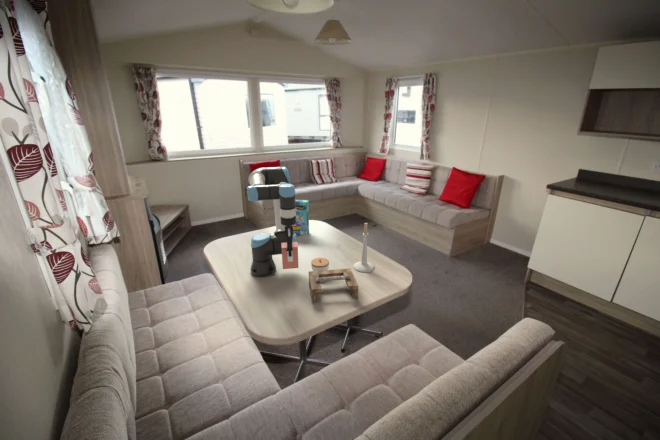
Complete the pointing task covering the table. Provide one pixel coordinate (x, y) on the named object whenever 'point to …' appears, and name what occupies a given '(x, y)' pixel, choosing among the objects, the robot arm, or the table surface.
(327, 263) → the lidded jar
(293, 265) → the salmon red channel block
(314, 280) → the wooden frame with rod
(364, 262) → the candlestick
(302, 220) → the game box
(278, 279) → the table surface
